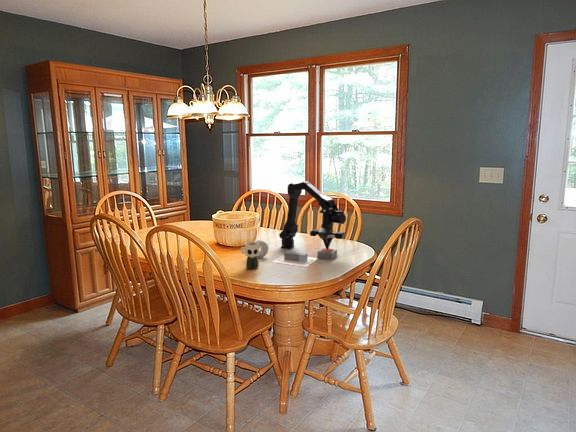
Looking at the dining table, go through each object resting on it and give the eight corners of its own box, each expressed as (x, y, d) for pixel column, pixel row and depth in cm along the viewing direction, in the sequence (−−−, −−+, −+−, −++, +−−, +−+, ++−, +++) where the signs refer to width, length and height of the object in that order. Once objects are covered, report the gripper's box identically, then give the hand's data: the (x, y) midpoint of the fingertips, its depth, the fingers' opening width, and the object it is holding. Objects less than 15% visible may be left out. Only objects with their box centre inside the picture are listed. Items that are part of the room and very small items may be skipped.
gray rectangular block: (284, 259, 231) (283, 252, 230) (287, 257, 234) (287, 250, 234) (304, 262, 226) (304, 255, 225) (307, 260, 229) (307, 253, 228)
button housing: (317, 257, 235) (317, 251, 234) (322, 253, 242) (322, 248, 242) (331, 259, 231) (331, 253, 231) (336, 255, 239) (337, 249, 238)
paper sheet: (271, 262, 227) (271, 261, 227) (285, 254, 242) (285, 254, 242) (306, 266, 218) (306, 266, 218) (318, 258, 233) (318, 258, 233)
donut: (268, 256, 238) (268, 239, 236) (268, 258, 234) (268, 240, 233) (250, 257, 236) (249, 239, 234) (250, 259, 233) (250, 241, 231)
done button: (321, 255, 236) (321, 249, 235) (324, 253, 240) (324, 247, 239) (329, 256, 234) (329, 250, 233) (332, 254, 238) (332, 248, 237)
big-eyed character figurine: (242, 270, 212) (241, 245, 210) (240, 266, 219) (240, 242, 217) (263, 269, 214) (263, 244, 212) (262, 265, 221) (261, 241, 219)
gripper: (306, 222, 230) (306, 250, 233) (338, 225, 222) (338, 254, 225) (314, 219, 240) (313, 246, 243) (345, 221, 232) (345, 249, 235)
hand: (327, 249), depth 236 cm, fingers closed, pressing on done button
